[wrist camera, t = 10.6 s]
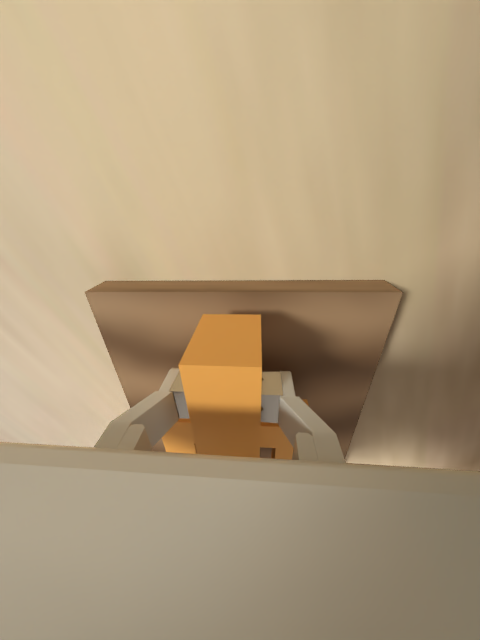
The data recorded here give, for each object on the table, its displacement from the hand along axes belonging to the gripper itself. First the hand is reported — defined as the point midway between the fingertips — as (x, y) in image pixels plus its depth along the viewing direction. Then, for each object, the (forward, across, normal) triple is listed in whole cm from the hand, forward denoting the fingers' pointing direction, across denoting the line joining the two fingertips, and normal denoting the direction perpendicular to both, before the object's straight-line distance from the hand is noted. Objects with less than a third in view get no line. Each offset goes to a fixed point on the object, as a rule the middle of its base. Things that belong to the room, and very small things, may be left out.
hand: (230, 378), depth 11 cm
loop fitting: (+2, 0, +5) cm, 5 cm away
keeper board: (+5, 0, +8) cm, 9 cm away
